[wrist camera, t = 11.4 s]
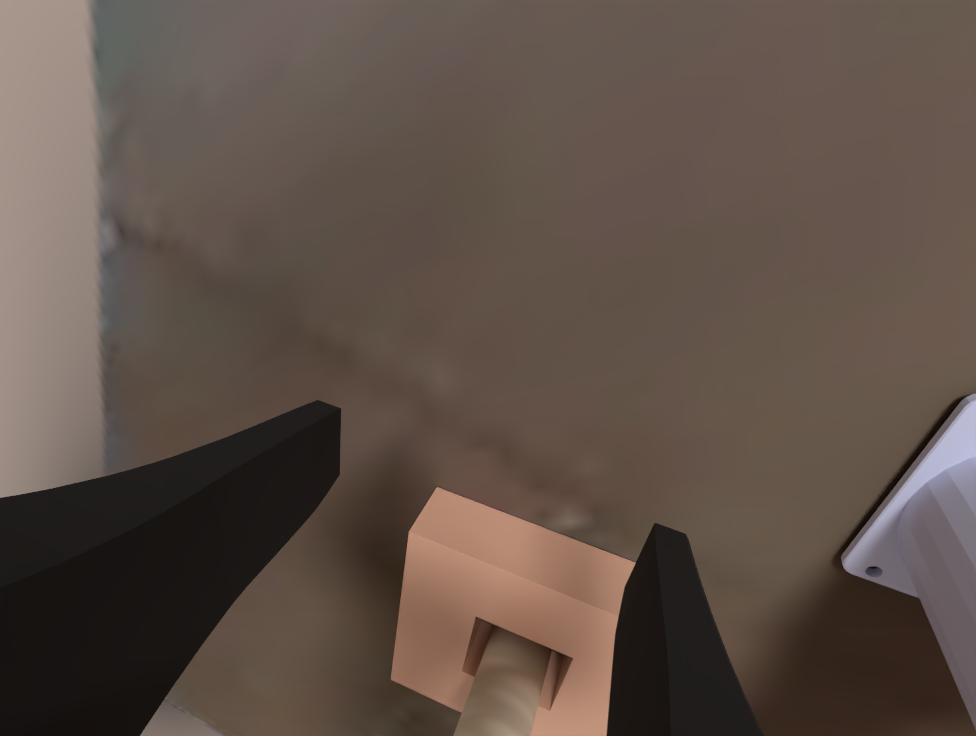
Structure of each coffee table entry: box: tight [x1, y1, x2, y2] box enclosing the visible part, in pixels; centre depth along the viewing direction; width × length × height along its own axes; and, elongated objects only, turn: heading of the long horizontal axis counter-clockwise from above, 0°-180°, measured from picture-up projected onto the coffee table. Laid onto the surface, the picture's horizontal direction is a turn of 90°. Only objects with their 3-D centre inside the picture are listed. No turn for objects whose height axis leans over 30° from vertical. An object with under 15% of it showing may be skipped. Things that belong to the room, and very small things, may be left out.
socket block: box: [391, 487, 636, 736], centre depth 26 cm, size 12×12×3 cm
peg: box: [454, 625, 552, 736], centre depth 24 cm, size 3×3×8 cm
